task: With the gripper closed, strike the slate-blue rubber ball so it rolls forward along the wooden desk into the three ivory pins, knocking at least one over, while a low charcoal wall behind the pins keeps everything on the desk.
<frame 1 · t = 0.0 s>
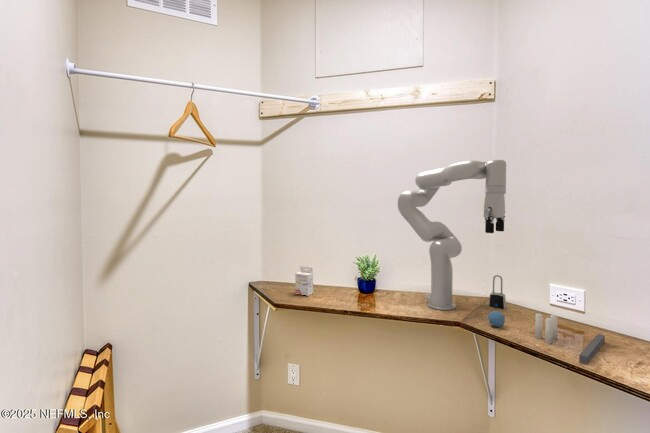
hand: (494, 232, 144), 37 cm above the shelf, tool pointing down, fingers open, 9 cm apart
padlock: (497, 307, 163), on the shelf
ball: (496, 318, 138), on the shelf
right back pin: (548, 342, 123), on the shelf
ink cartridge box: (304, 295, 186), on the shelf
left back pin: (553, 338, 126), on the shelf
front pin: (538, 337, 127), on the shelf
back wall: (592, 351, 115), on the shelf
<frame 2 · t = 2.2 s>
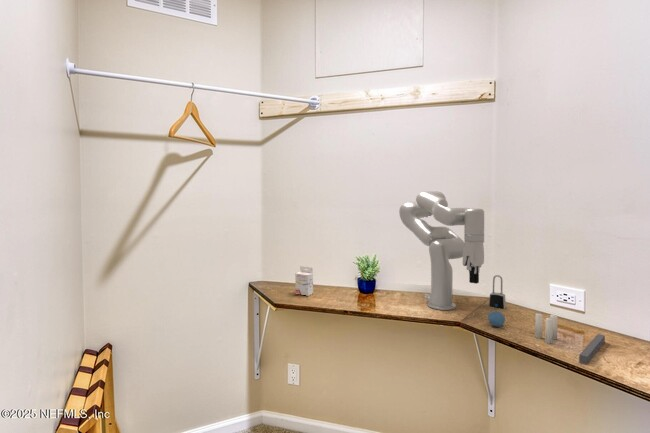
hand: (474, 282, 144), 16 cm above the shelf, tool pointing down, fingers closed
nothing on the shelf moved.
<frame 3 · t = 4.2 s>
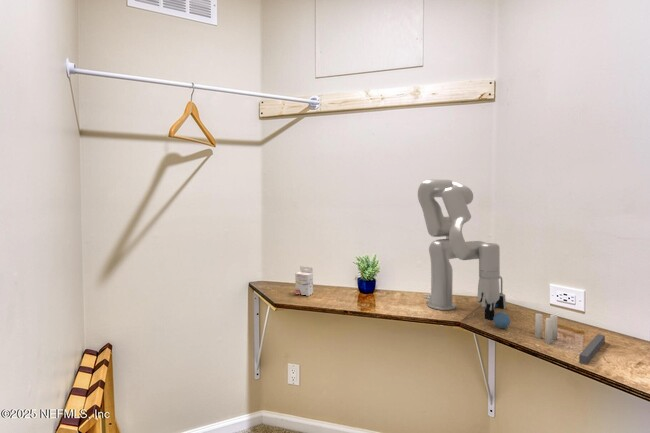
hand: (489, 319, 140), 2 cm above the shelf, tool pointing down, fingers closed
ball: (501, 320, 137), on the shelf
everything else where it was.
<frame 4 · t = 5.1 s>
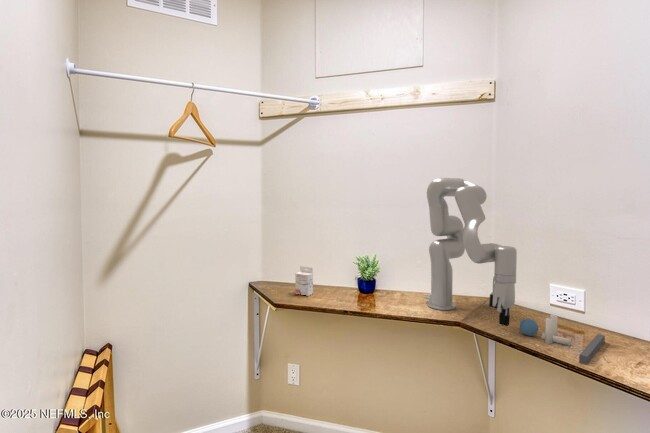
hand: (504, 324, 136), 2 cm above the shelf, tool pointing down, fingers closed
ball: (528, 327, 129), on the shelf
front pin: (542, 335, 126), point 1 cm above the shelf, tilted 90°
everything else where it was.
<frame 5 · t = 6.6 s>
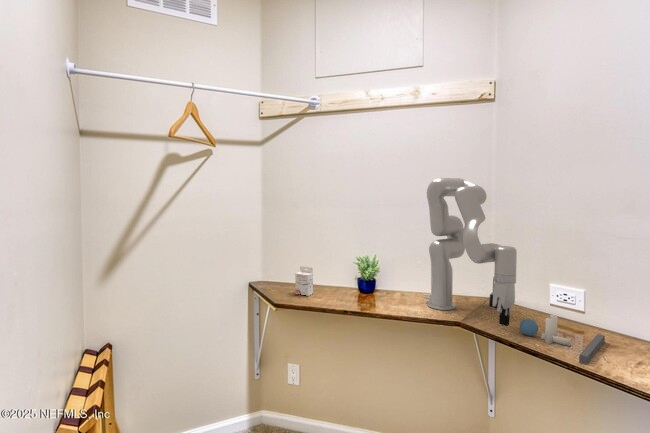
hand: (504, 324, 136), 2 cm above the shelf, tool pointing down, fingers closed
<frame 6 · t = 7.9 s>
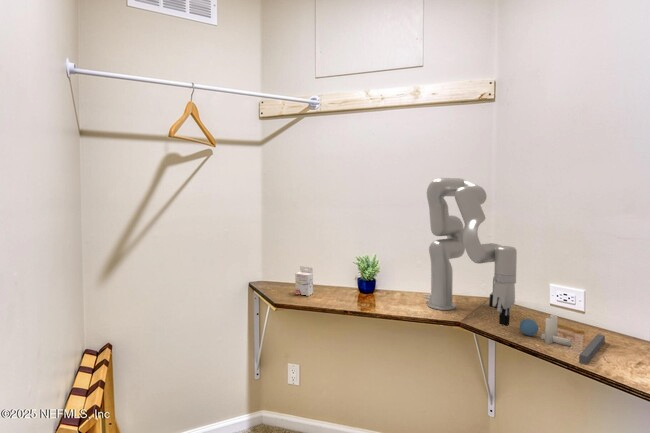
hand: (504, 324, 136), 2 cm above the shelf, tool pointing down, fingers closed
nothing on the shelf moved.
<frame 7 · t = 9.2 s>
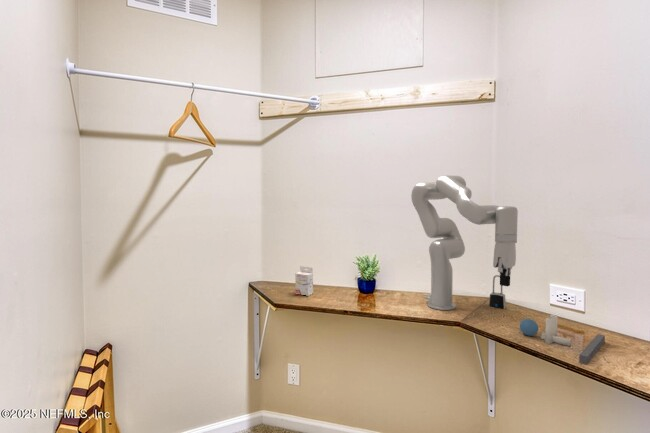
hand: (504, 285, 135), 17 cm above the shelf, tool pointing down, fingers closed
nothing on the shelf moved.
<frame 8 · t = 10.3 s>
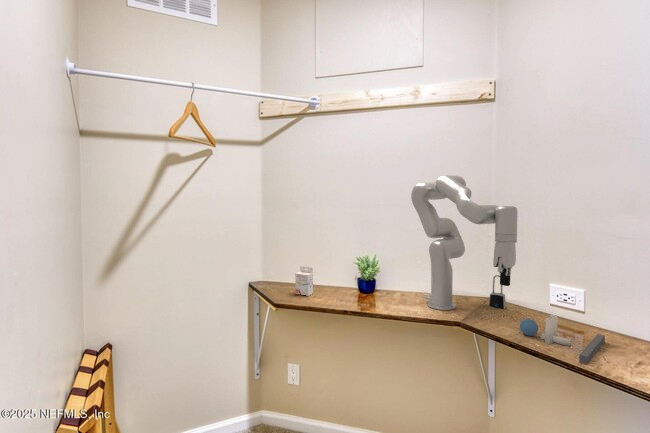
hand: (504, 285, 135), 17 cm above the shelf, tool pointing down, fingers closed
nothing on the shelf moved.
at the end: 1 of 3 knocked over (down: front pin; still standing: left back pin, right back pin); front pin never touched the robot; ball moved 11.8 cm from its start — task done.
